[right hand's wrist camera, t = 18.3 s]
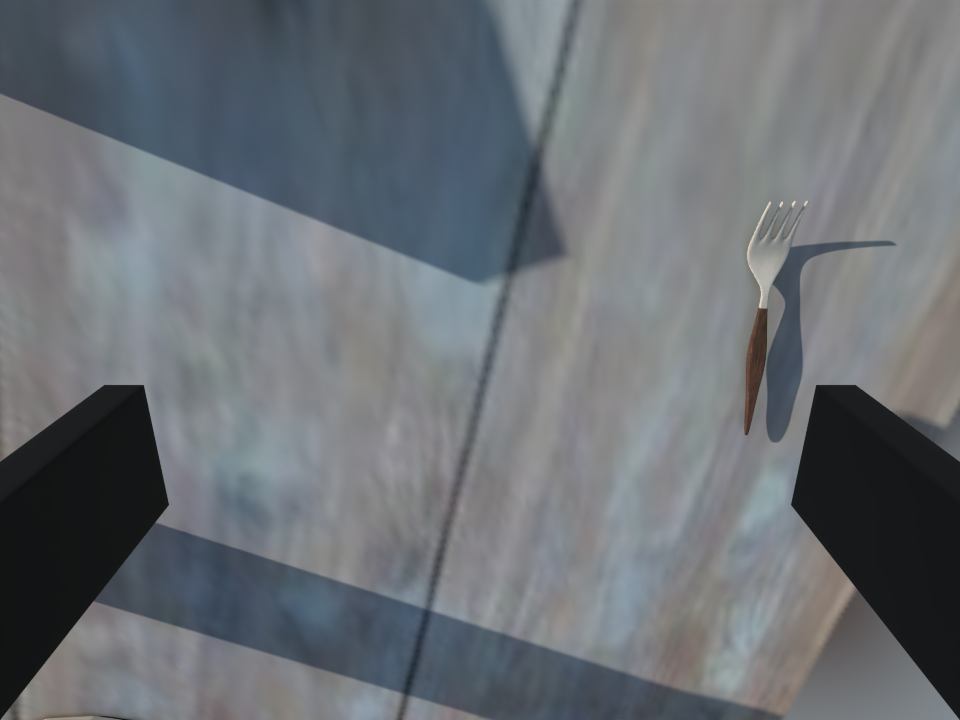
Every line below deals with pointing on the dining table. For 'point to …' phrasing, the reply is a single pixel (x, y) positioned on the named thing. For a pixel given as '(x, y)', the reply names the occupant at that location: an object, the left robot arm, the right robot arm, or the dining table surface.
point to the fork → (764, 296)
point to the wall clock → (82, 718)
